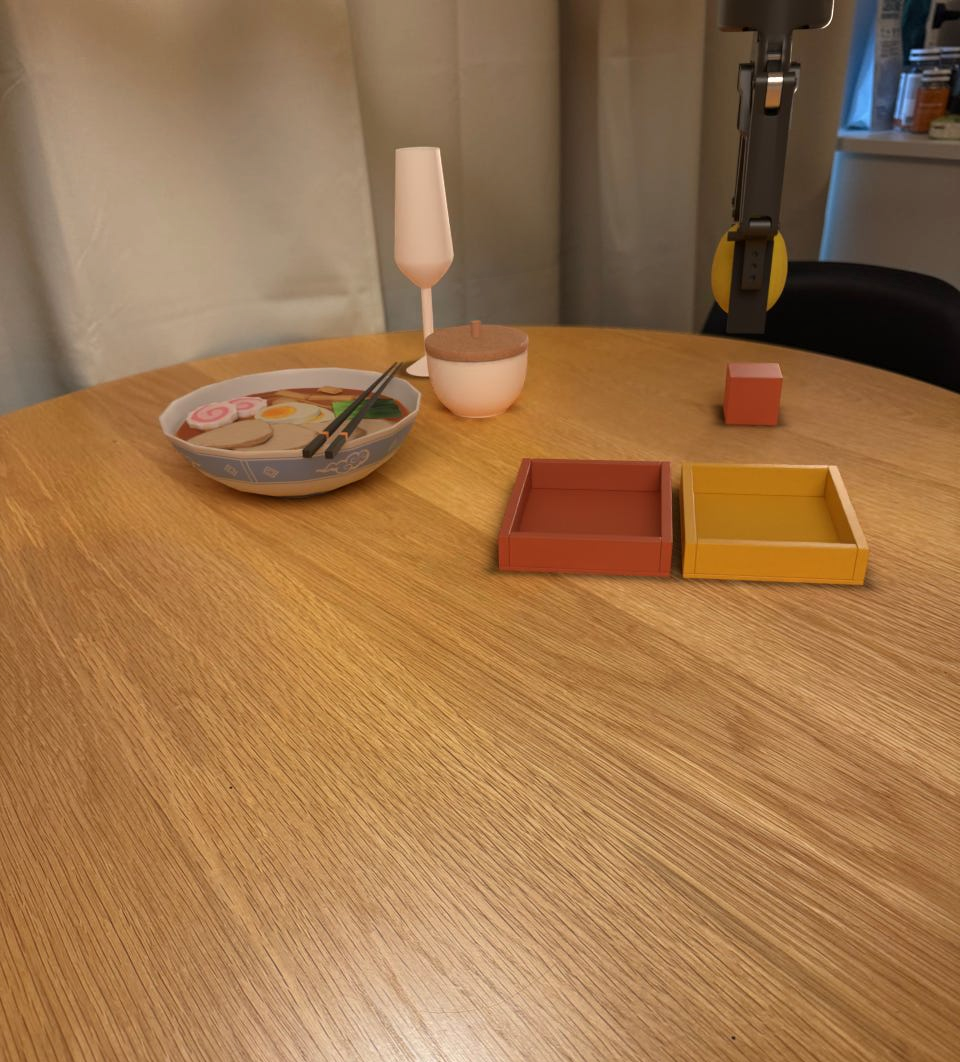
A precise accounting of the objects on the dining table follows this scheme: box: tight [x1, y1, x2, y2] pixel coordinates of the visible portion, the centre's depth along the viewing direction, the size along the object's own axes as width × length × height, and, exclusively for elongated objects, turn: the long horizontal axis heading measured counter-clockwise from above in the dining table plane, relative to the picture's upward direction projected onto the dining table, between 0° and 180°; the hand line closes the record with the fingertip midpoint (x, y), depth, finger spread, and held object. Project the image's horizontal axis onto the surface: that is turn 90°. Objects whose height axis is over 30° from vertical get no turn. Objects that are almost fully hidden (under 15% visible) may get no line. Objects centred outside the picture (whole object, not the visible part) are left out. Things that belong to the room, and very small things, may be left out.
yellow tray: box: [679, 461, 871, 586], centre depth 78 cm, size 13×16×3 cm
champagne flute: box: [393, 146, 455, 377], centre depth 114 cm, size 7×7×24 cm
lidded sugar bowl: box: [424, 319, 530, 419], centre depth 105 cm, size 11×11×9 cm
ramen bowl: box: [157, 361, 422, 499], centre depth 89 cm, size 25×23×8 cm
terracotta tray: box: [497, 457, 674, 578], centre depth 80 cm, size 13×16×3 cm
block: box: [722, 362, 784, 426], centre depth 101 cm, size 5×5×5 cm
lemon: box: [710, 222, 789, 314], centre depth 76 cm, size 6×6×8 cm
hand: (743, 320), depth 78 cm, fingers closed on lemon, 5 cm apart
